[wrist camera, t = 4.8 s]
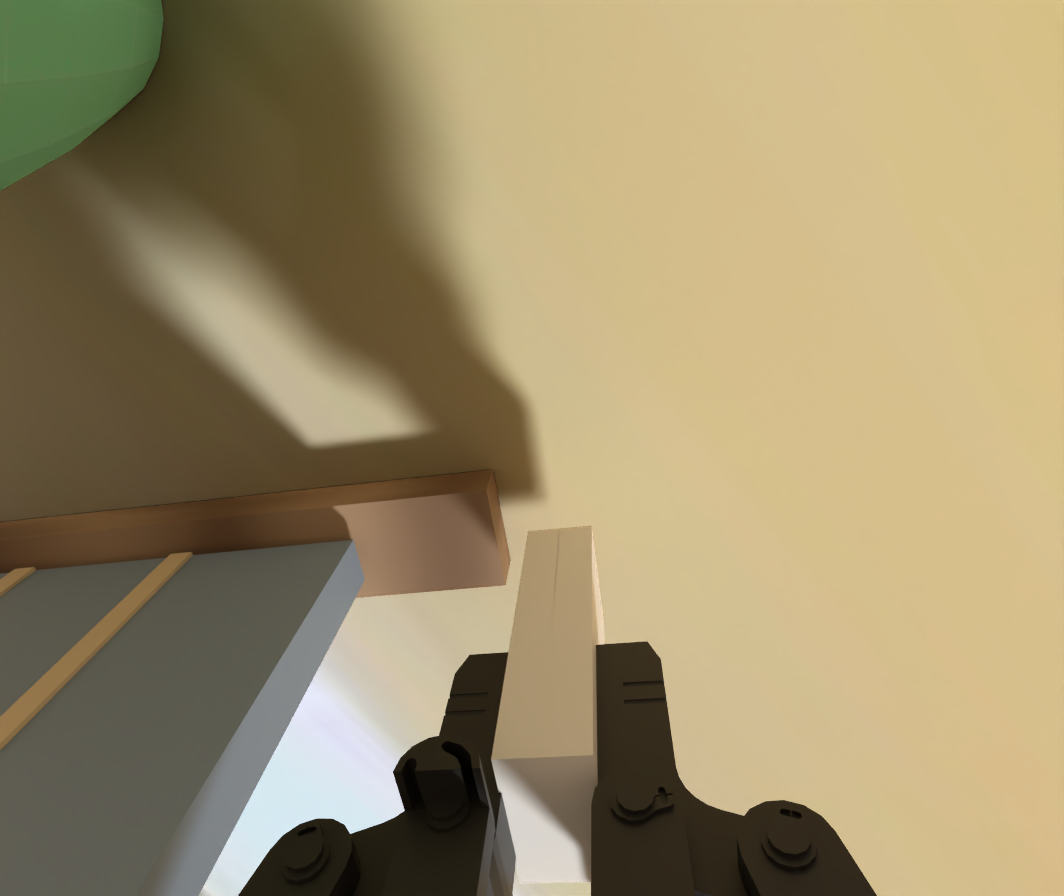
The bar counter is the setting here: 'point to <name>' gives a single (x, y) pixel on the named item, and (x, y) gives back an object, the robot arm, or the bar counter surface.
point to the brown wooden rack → (298, 531)
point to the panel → (151, 708)
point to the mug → (68, 73)
